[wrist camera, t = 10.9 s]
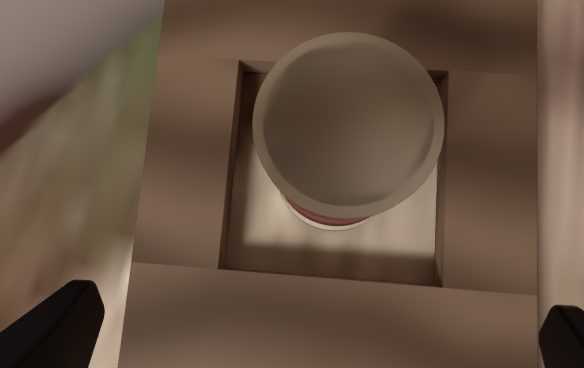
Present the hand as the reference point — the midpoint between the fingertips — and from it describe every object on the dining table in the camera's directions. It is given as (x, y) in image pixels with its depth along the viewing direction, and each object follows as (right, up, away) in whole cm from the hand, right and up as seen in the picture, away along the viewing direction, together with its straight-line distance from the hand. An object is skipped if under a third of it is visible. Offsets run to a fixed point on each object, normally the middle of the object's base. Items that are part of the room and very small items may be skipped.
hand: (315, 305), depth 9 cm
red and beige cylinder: (+2, +3, +13) cm, 13 cm away
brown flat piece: (+2, +3, +13) cm, 13 cm away
